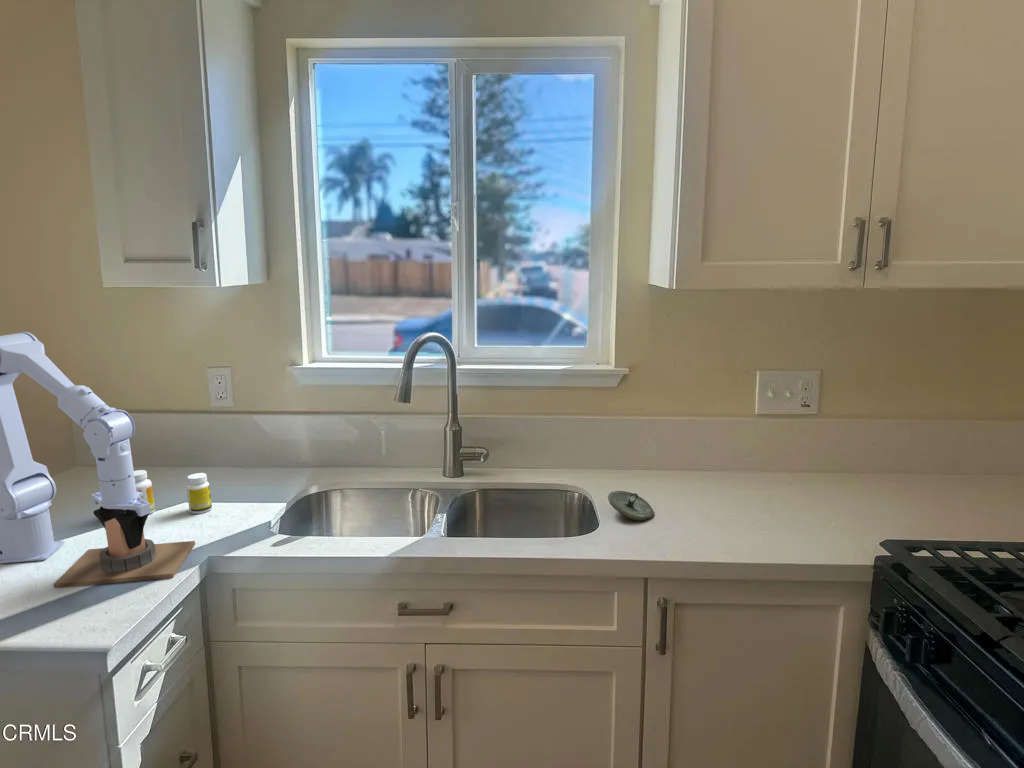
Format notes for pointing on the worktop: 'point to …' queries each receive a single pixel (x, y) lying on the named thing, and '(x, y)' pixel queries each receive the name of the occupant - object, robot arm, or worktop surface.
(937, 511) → the worktop surface
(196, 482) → the supplement bottle
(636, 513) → the lid
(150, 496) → the supplement bottle
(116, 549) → the peg block
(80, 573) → the collar board
